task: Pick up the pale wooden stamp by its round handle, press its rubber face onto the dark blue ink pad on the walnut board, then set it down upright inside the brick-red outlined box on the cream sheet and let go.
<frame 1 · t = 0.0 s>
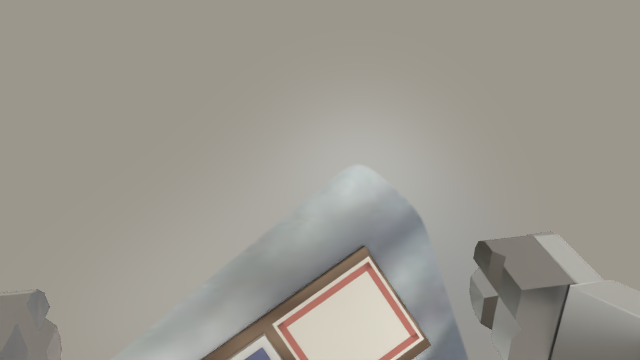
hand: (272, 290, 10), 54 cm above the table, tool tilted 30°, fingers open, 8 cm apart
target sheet: (347, 329, 65), resting on stamping board
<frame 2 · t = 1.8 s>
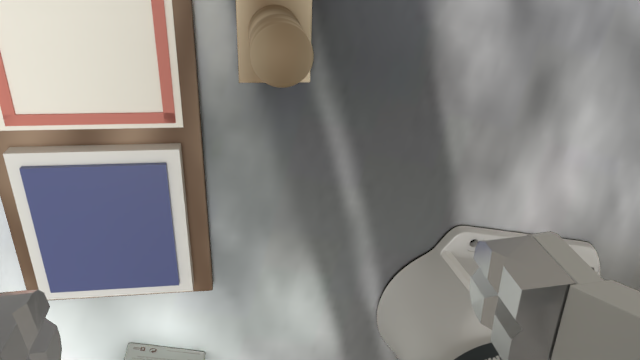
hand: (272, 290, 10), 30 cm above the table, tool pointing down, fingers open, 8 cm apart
ink pad: (112, 214, 42), resting on stamping board
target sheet: (80, 23, 35), resting on stamping board
wooden stamp: (272, 25, 37), on the table
stamping board: (98, 127, 38), on the table
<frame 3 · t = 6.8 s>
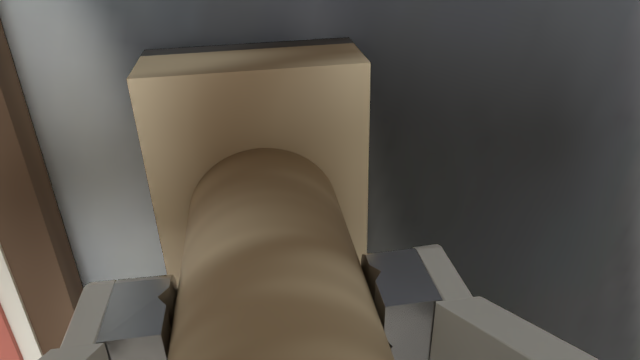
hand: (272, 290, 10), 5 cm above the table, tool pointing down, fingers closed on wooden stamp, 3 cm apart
wooden stamp: (260, 170, 14), on the table, touching gripper
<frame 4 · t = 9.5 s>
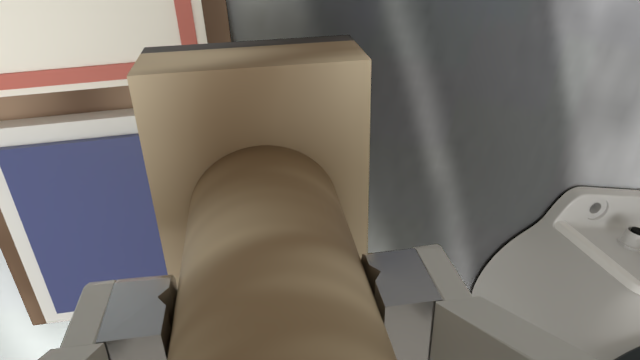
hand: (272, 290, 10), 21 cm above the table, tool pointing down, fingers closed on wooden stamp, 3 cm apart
ink pad: (128, 205, 32), resting on stamping board
wooden stamp: (260, 168, 14), point 16 cm above the table, touching gripper
stamping board: (97, 87, 28), on the table
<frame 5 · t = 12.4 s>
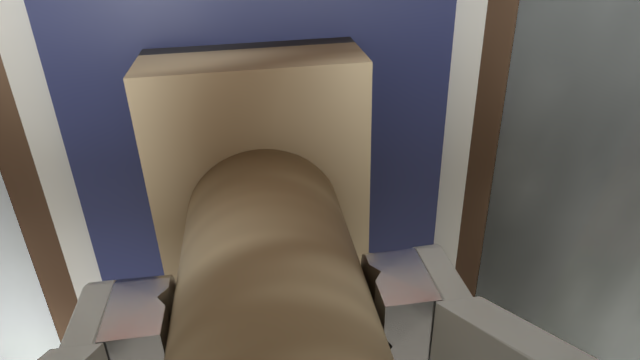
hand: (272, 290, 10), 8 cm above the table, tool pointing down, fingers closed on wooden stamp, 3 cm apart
ink pad: (262, 138, 17), resting on stamping board
wooden stamp: (260, 171, 14), point 3 cm above the table, touching gripper, ink pad
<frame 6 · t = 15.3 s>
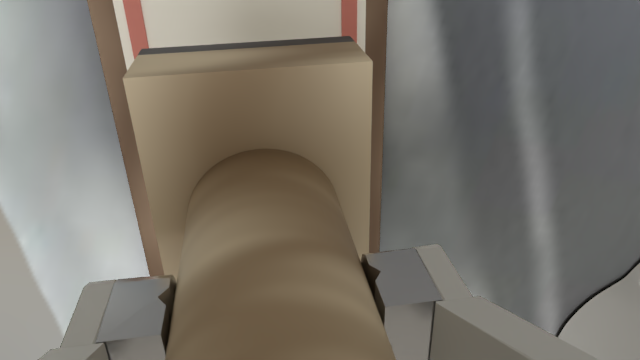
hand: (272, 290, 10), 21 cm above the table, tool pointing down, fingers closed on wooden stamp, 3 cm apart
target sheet: (247, 40, 28), resting on stamping board
wooden stamp: (260, 171, 14), point 16 cm above the table, touching gripper
stamping board: (258, 164, 32), on the table
when the fingers open (7 cm above the table, at t = 18.0 s): wooden stamp drops 1 cm, resting on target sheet.
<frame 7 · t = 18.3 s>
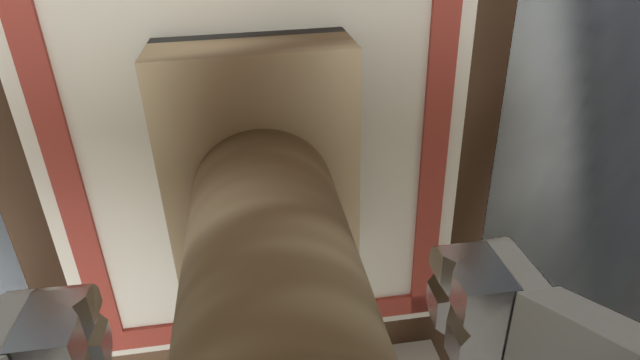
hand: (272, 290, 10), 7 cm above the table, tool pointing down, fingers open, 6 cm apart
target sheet: (256, 140, 16), resting on stamping board
wooden stamp: (259, 153, 15), point 1 cm above the table, touching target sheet
stamping board: (272, 320, 20), on the table
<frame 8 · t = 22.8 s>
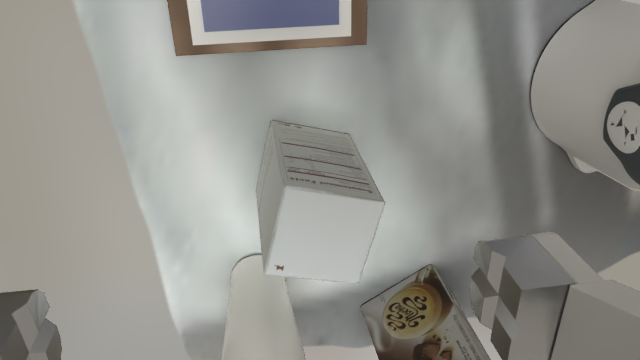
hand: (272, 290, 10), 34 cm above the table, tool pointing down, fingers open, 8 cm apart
coffee box: (408, 300, 57), on the table
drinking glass: (257, 272, 52), on the table
supplement box: (302, 161, 47), on the table
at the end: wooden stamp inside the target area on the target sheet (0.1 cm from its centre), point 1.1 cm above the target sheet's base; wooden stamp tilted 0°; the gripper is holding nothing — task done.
